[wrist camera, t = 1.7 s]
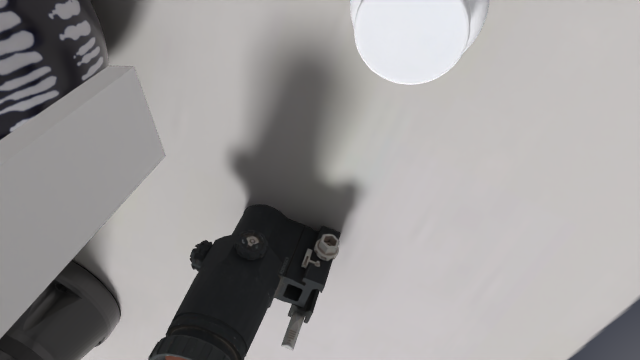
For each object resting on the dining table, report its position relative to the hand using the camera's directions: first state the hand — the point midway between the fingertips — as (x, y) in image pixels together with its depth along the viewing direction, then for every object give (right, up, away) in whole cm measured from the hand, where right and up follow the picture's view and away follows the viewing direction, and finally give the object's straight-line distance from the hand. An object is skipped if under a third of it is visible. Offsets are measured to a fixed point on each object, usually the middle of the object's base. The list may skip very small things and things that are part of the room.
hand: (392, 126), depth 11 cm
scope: (-5, -5, +27) cm, 28 cm away
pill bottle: (+4, +10, +13) cm, 16 cm away
